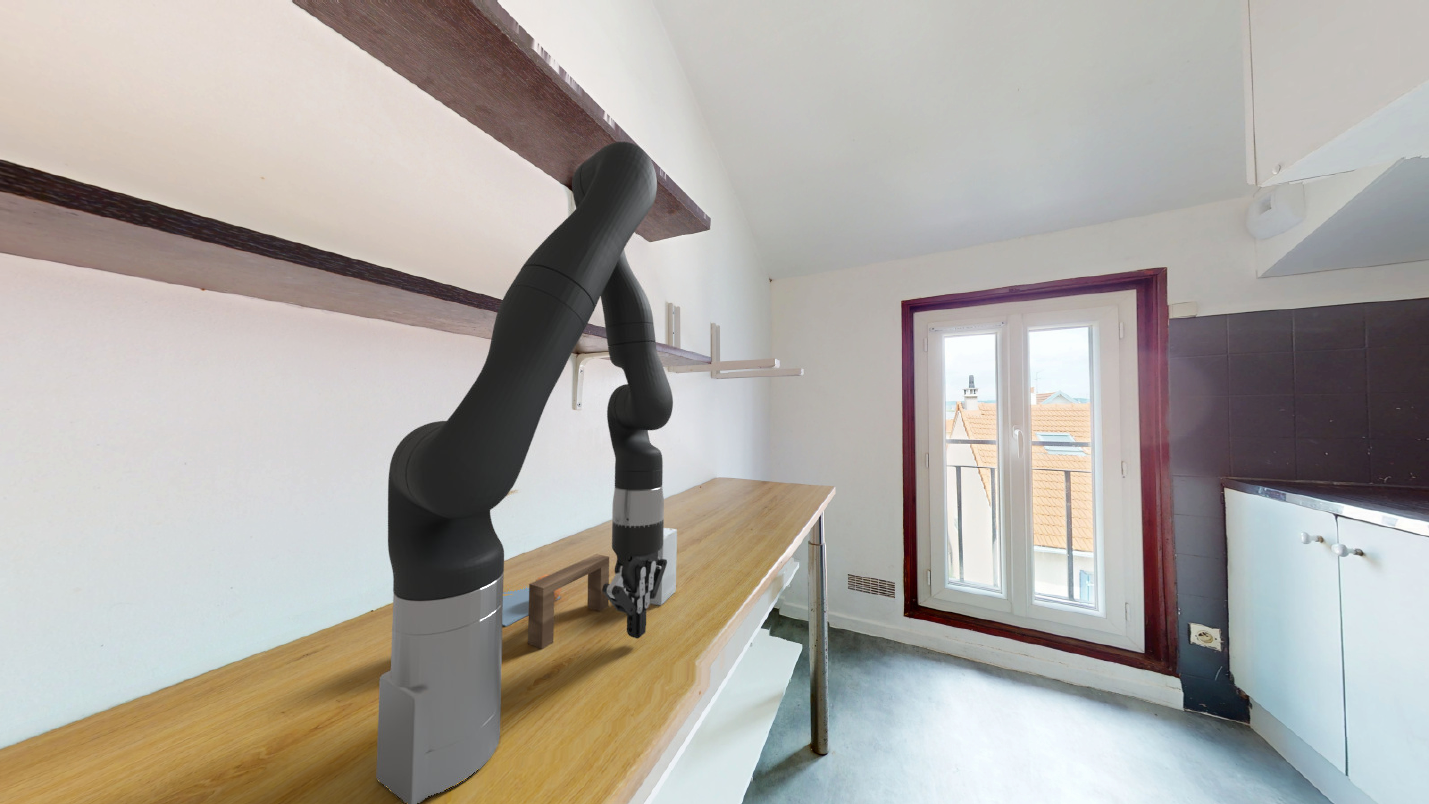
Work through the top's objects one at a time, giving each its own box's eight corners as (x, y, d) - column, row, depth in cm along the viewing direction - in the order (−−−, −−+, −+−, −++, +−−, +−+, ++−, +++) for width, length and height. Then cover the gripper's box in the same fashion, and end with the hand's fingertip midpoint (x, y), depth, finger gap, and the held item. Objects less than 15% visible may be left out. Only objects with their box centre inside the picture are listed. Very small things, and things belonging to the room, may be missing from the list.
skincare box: (656, 588, 76) (657, 526, 77) (677, 592, 75) (678, 528, 75) (640, 603, 70) (641, 535, 71) (662, 607, 69) (663, 538, 69)
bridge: (608, 606, 69) (609, 556, 69) (542, 649, 56) (543, 588, 57) (595, 602, 70) (596, 553, 71) (527, 643, 58) (529, 584, 58)
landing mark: (505, 626, 62) (506, 625, 62) (463, 610, 67) (463, 609, 67) (560, 597, 72) (560, 596, 72) (520, 585, 77) (520, 584, 77)
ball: (523, 581, 70) (528, 610, 69) (536, 580, 67) (541, 610, 66) (550, 571, 74) (555, 598, 73) (563, 569, 71) (568, 598, 70)
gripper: (630, 532, 51) (628, 668, 50) (682, 509, 62) (681, 620, 62) (586, 524, 54) (584, 652, 53) (644, 504, 66) (643, 609, 65)
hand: (636, 634), depth 58 cm, fingers closed
